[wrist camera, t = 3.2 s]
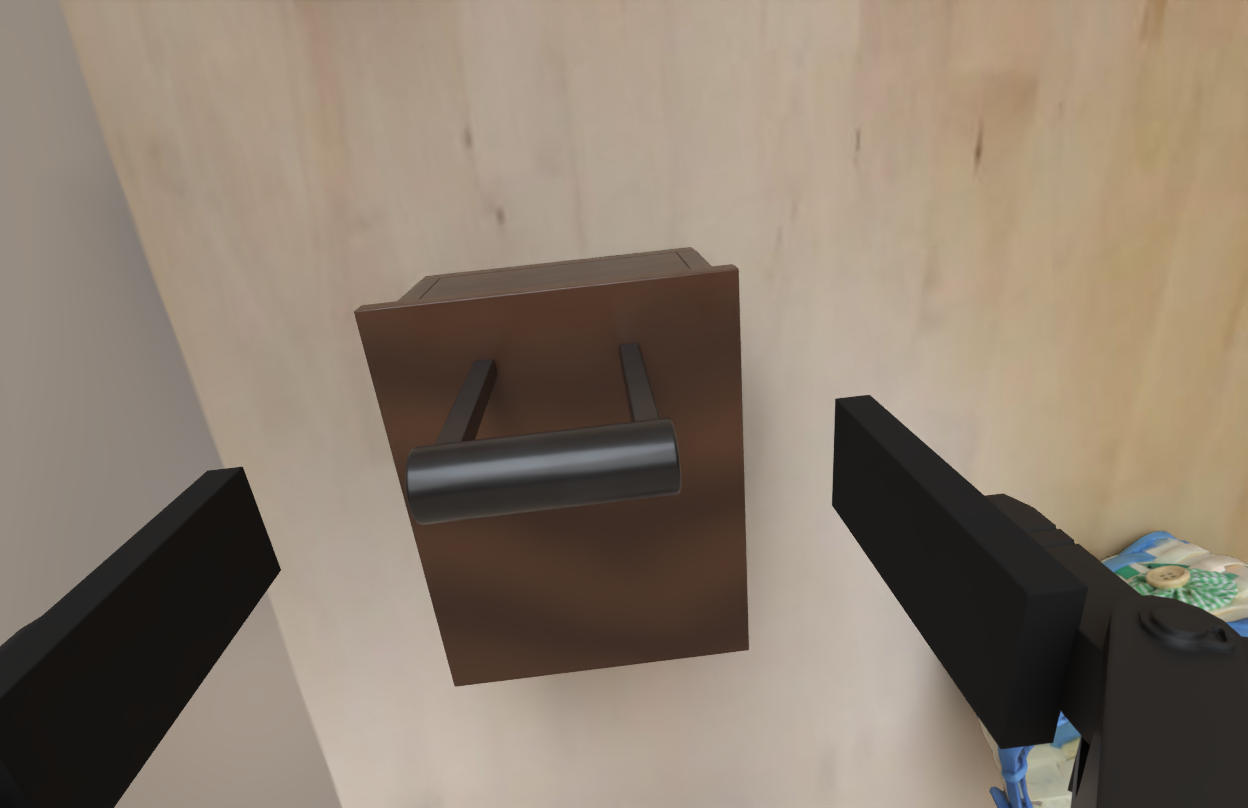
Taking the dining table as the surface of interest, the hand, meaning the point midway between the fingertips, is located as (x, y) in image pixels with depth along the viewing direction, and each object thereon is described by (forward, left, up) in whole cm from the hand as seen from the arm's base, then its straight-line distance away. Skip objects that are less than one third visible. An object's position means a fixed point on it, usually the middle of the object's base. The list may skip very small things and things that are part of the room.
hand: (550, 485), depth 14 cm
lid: (0, -6, -9) cm, 11 cm away
